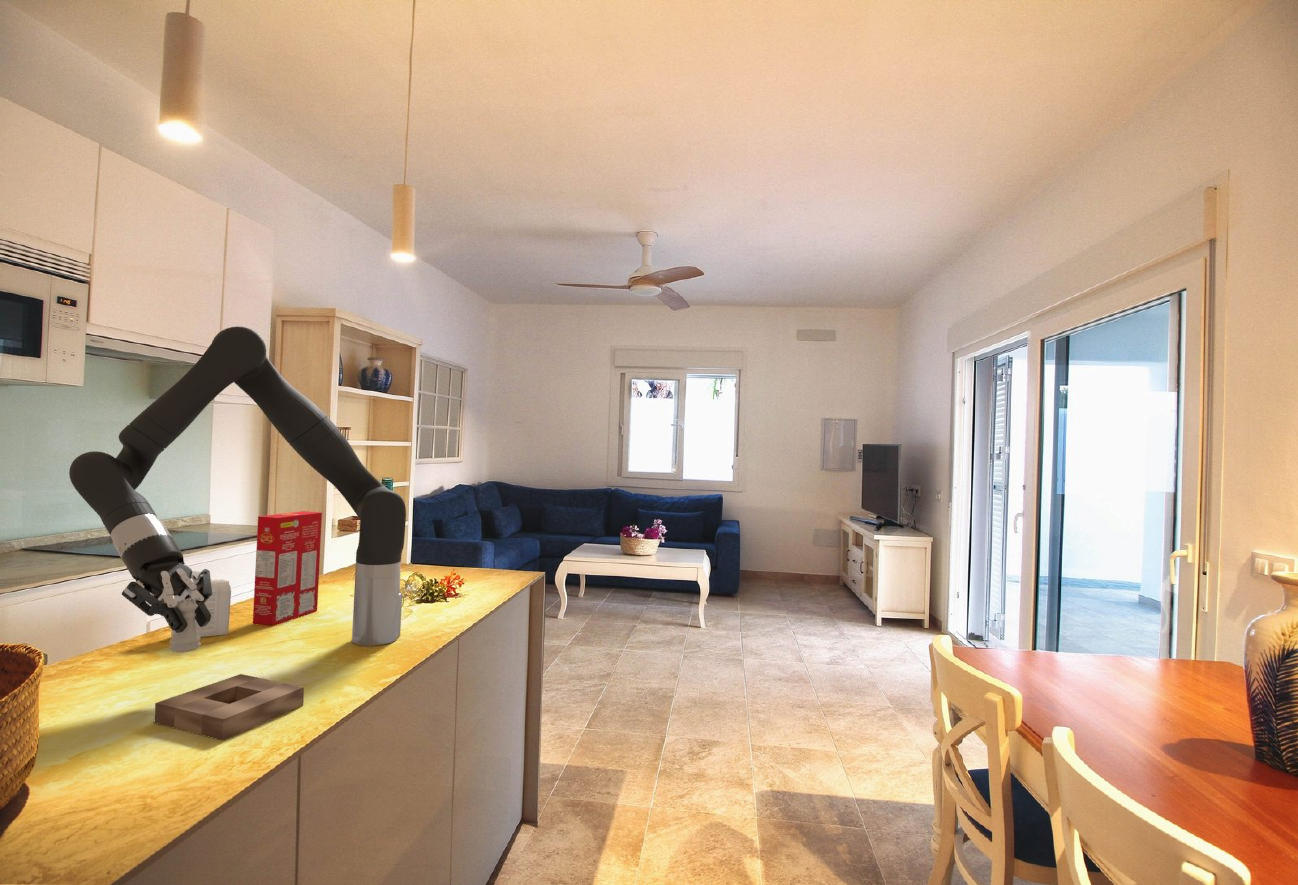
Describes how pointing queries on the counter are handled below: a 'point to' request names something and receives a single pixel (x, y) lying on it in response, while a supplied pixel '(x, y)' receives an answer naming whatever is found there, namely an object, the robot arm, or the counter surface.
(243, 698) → the socket board
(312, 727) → the counter surface
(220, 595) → the photo printer
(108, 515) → the robot arm
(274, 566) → the food packaging
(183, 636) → the rook chess piece
